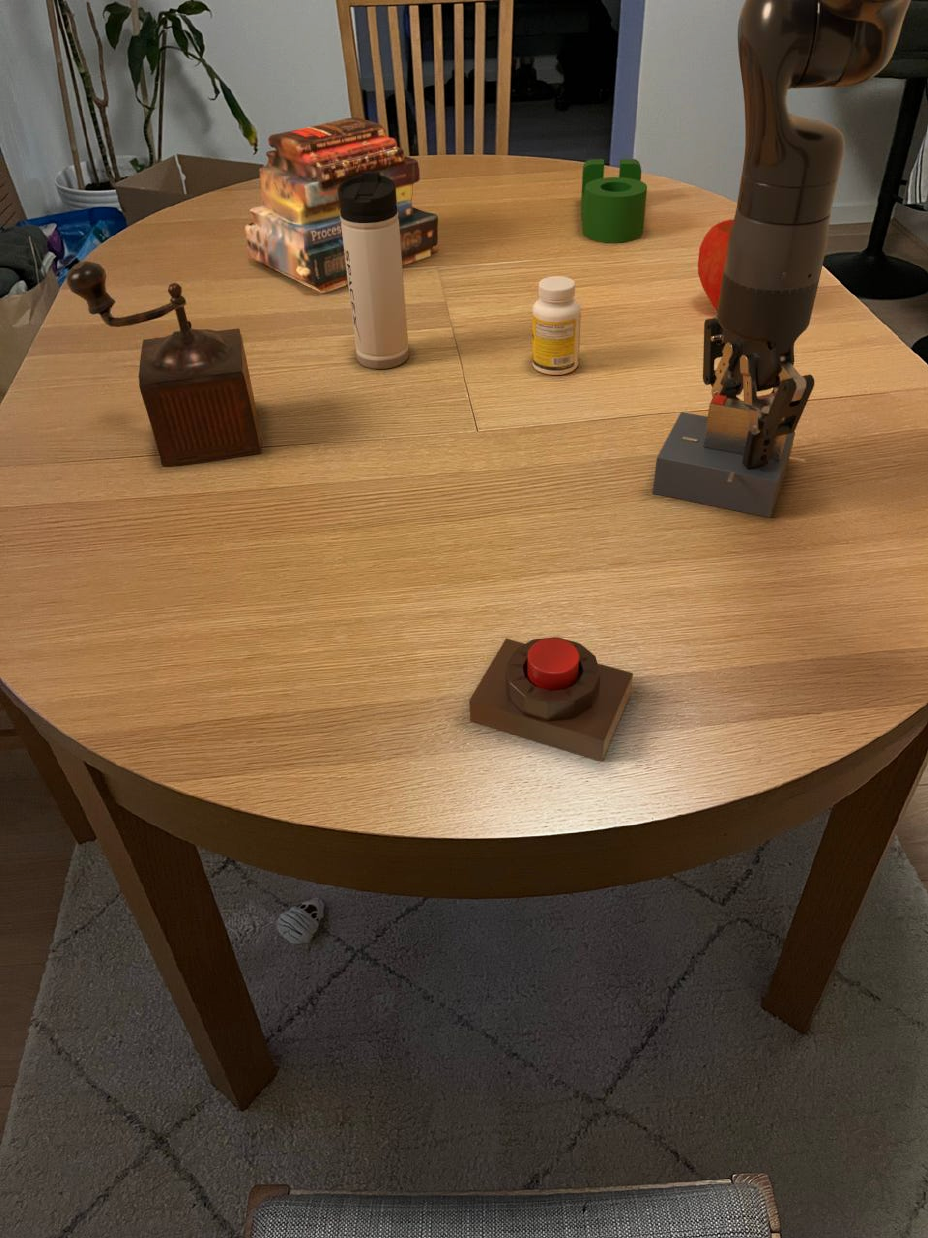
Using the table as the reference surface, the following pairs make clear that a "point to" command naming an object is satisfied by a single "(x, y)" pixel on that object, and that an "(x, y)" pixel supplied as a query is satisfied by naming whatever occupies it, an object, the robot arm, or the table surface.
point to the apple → (713, 260)
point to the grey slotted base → (716, 471)
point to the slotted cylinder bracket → (613, 202)
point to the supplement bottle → (556, 327)
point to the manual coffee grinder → (185, 379)
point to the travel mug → (374, 269)
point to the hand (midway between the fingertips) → (737, 449)
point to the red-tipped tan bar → (734, 427)
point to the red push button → (553, 664)
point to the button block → (552, 702)
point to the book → (329, 200)
